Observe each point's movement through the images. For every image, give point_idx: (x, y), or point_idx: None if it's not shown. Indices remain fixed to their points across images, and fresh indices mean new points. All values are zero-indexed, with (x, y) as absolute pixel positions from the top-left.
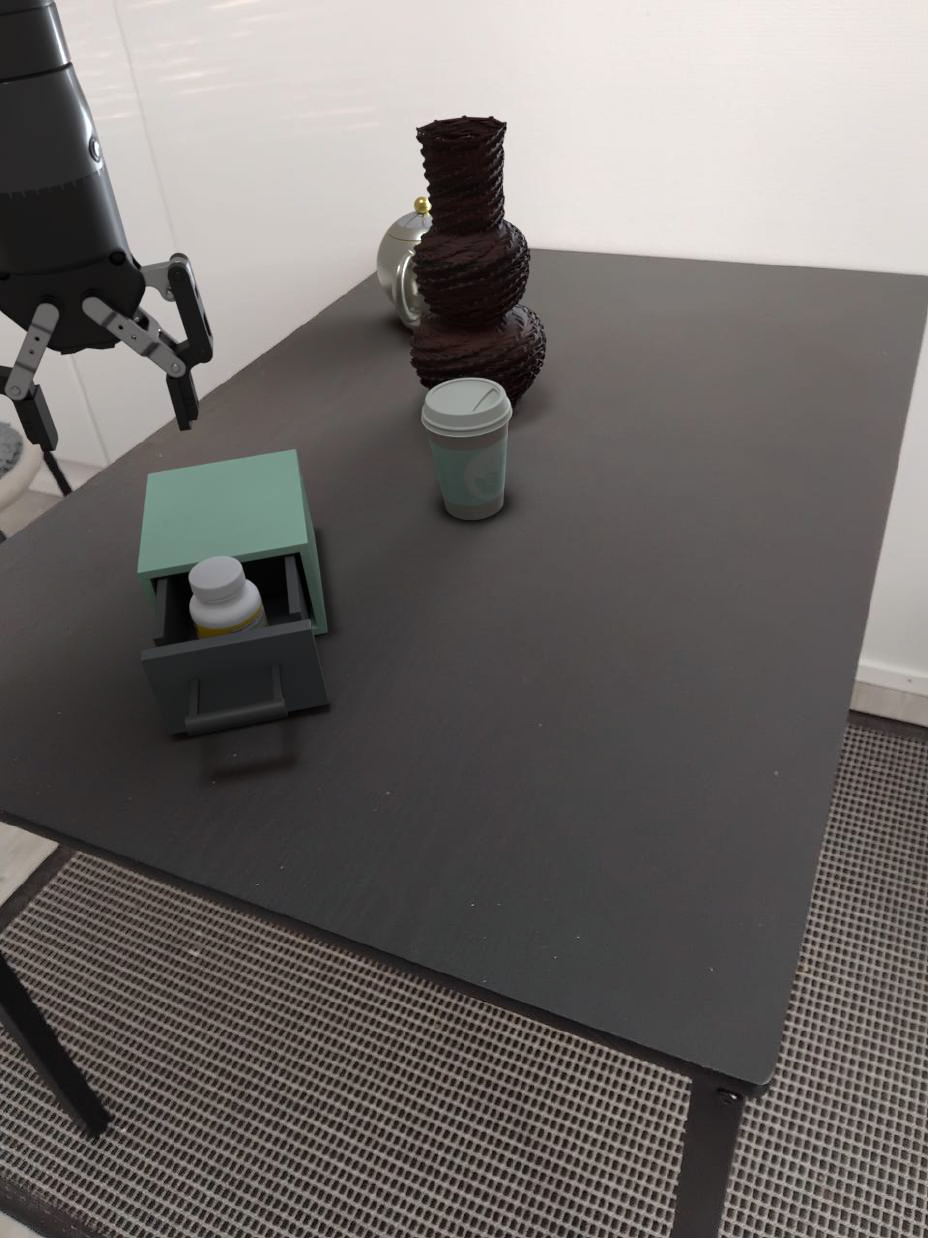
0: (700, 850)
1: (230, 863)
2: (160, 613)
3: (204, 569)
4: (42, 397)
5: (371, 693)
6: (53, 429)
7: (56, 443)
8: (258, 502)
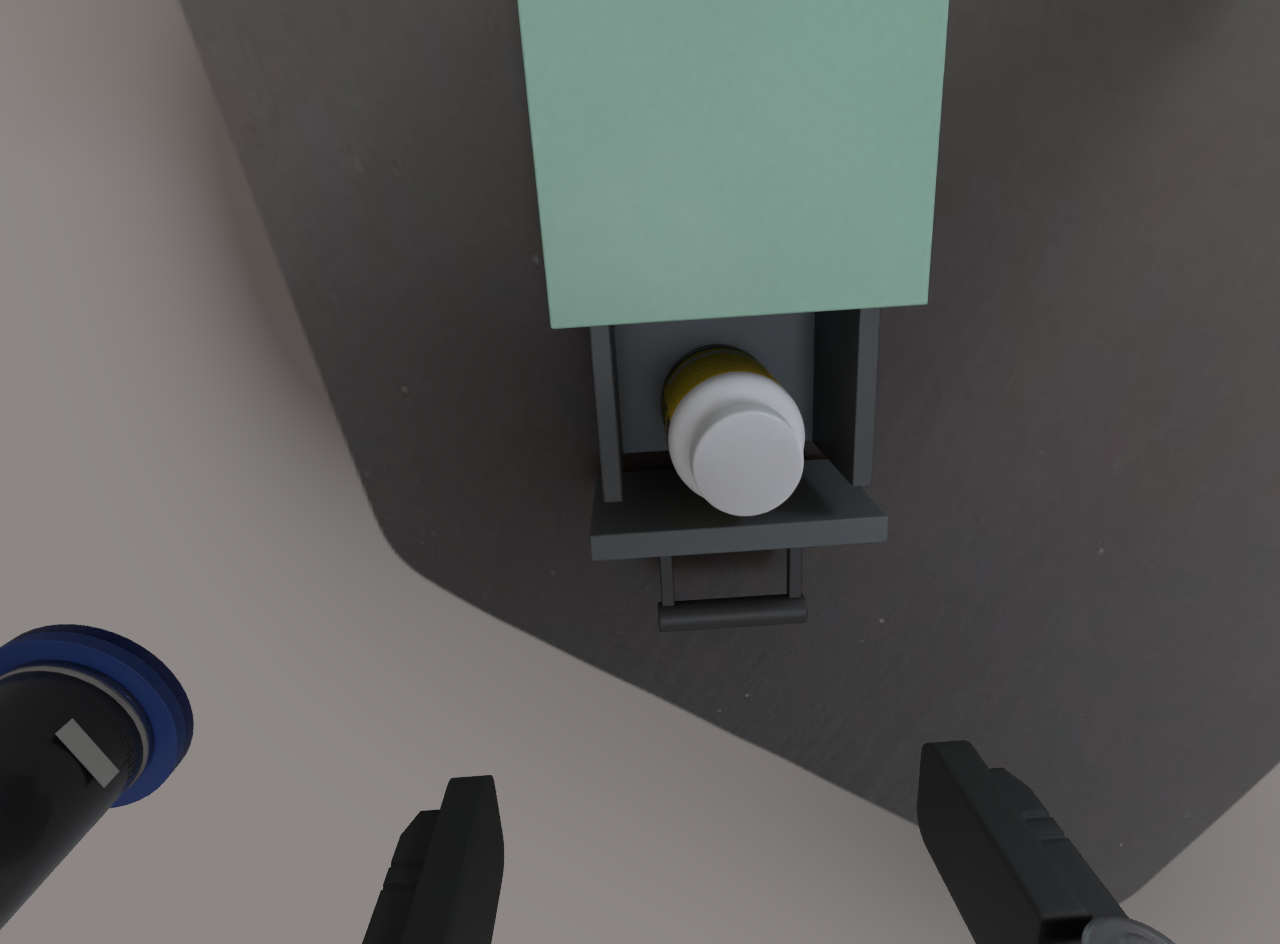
0: (1183, 742)
1: (688, 682)
2: (609, 434)
3: (726, 453)
4: (459, 935)
5: (893, 446)
6: (487, 825)
7: (497, 813)
8: (830, 82)
